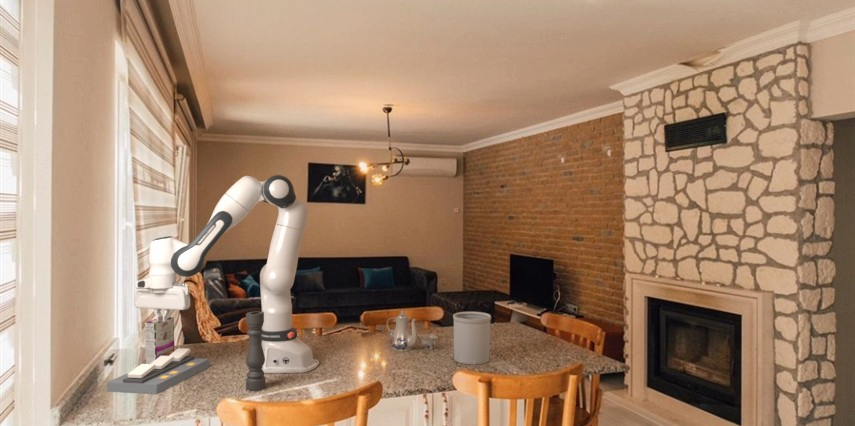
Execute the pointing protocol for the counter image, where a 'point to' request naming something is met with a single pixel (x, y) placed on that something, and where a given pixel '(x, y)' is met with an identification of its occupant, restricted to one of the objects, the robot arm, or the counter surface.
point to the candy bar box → (159, 339)
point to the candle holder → (255, 352)
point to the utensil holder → (471, 337)
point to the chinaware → (408, 335)
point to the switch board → (159, 377)
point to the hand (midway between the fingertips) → (162, 321)
